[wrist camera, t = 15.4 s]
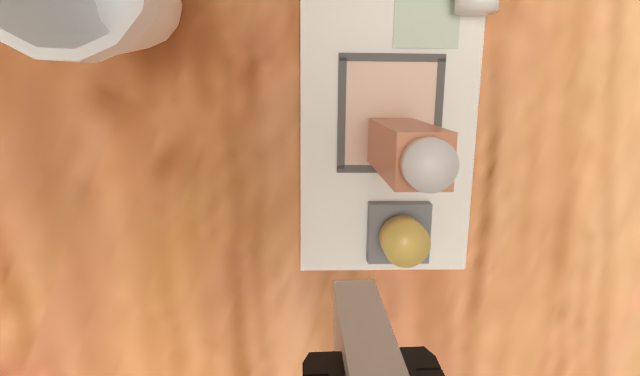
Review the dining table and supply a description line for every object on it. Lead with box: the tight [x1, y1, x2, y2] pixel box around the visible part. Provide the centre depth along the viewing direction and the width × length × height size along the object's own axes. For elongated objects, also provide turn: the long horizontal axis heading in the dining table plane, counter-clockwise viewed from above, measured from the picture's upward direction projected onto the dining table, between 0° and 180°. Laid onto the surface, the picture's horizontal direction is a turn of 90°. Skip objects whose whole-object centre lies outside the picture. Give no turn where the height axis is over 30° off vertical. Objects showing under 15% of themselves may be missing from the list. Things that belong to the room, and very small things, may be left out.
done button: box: [379, 215, 431, 268], centre depth 36 cm, size 4×4×2 cm
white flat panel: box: [300, 0, 486, 271], centre depth 36 cm, size 28×14×2 cm, turn 0°
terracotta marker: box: [367, 118, 459, 194], centre depth 31 cm, size 3×3×12 cm
